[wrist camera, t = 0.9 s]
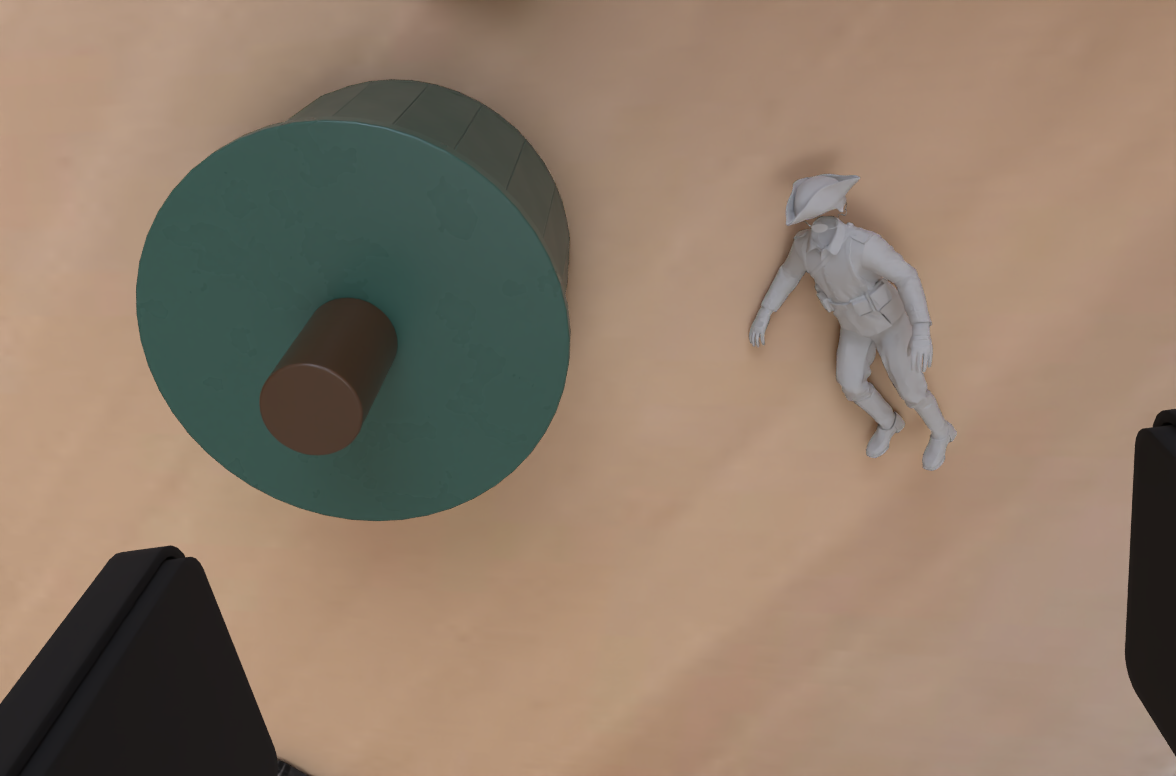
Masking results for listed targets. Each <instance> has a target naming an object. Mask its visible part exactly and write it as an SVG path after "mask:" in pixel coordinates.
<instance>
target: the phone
mask: <svg viewBox="0 0 1176 776" xmlns="http://www.w3.org/2000/svg"><path fill="white" fill-rule="evenodd" d="M277 762H278V774H277V776H307V775H305V774H304V773H302V772H300V771H299V770H297V769H295V768H293V767H292V766H290V765H288V764H286V763H284V762H282V761H278V760H277Z"/></svg>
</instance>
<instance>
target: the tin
mask: <svg viewBox="0 0 1176 776" xmlns="http://www.w3.org/2000/svg"><path fill="white" fill-rule="evenodd" d="M324 116H337V117H356V118H364V119H369V120H375V121H380V122H386V123H391V124H394V125H397V126H400V127H403V128H406V129H410V130H413V131H416V132H419V133H421V134H423V135H426V136H428V137H430V138H432V139H434V140H436V141H439V142H441V143H443V144H445V145H447V146H449V147H451V148H452V149H454V150H455V151H457V152H459V153H460V154H462V155H464V156H465V157H467V158H468V159H470V160H472V161H473V162H475V163H476V164H477V165H478V166H480V167H481V168H482V169H483V170H485V171H486V172H487V173H488V174H490V175H491V176H492V177H493V178H494V179H496V180H497V181H498V182H499V183H500V184H501V185H502V186H503V187H504V188H505V189H506V190H507V191H508V192H509V193H510V194H511V195H512V196H513V197H514V198H515V199H516V201H517V202H518V203H519V204H520V205H521V206H522V208H523V209H524V210H525V212H526V213H527V214H528V216H529V217H530V219H531V220H532V221H533V223H534V224H535V225H536V227H537V228H538V230H539V232H540V234H541V235H542V237H543V239H544V241H545V242H546V244H547V246H548V248H549V250H550V251H551V254H552V256H553V259H554V261H555V264H556V266H557V269H558V271H559V274H560V276H561V279H562V283H563V287H564V291H565V294H566V288H567V281H568V264H569V240H570V237H569V230H568V225H567V219H566V215H565V211H564V207H563V203H562V200H561V197H560V195H559V192H558V189H557V187H556V184H555V182H554V180H553V178H552V176H551V174H550V173H549V171H548V169H547V167H546V165H545V163H544V162H543V161H542V159H541V158H540V156H539V155H538V154H537V152H536V151H535V149H534V148H533V147H532V145H531V144H530V143H529V142H528V141H527V140H526V139H525V138H524V137H523V136H522V135H521V133H520V132H519V131H518V130H517V129H516V128H515V127H513V126H512V125H511V124H510V123H509V122H507V121H506V120H505V119H504V118H503V117H501V116H500V115H499V114H498V113H496V112H494V111H493V110H491V109H490V108H488V107H487V106H485V105H483V104H482V103H480V102H479V101H477V100H474V99H472V98H470V97H468V96H466V95H464V94H462V93H460V92H457V91H454V90H451V89H448V88H445V87H442V86H439V85H435V84H430V83H424V82H419V81H412V80H392V79H391V80H380V81H369V82H364V83H360V84H356V85H351V86H347V87H345V88H342V89H339V90H337V91H334V92H331V93H328V94H325V95H323V96H321V97H319V98H318V99H316V100H315V101H313V102H312V103H311V104H309V105H308V106H306V107H305V108H304V109H302V110H301V111H299V112H298V113H296V114H295V115H294V116H292V117H291V118H289V119H288V120H287V121H290V120H295V119H300V118H312V117H324ZM285 122H286V121H285Z"/></svg>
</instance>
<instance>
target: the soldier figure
mask: <svg viewBox="0 0 1176 776" xmlns="http://www.w3.org/2000/svg"><path fill="white" fill-rule="evenodd" d="M859 179H860V177H859V176H856V175H848V176H842V175H835V174H821V175H817V176H814V177H809V178H808V177H806V178H802V179H799V180H797V181H795V182H794V183H793V190H792V193H791V195H790V197H789V200H788V202H787V206H786V225H787V226H789V225H793V224H796V223H799V222H802V221H804V220H809V219H812V218H815V217H818V216H820V215H822V214H824V213H826V212H828V211H830V210H833V209H838V210H839V211H840V212H843V207H844V205H845V203H846V207H847V202H846V197H845V195H846V193H847V192H848V191H849V190H850V188H851V187H852V186H853V185H854V184H855V183H856V182H857V181H858V180H859ZM845 210H846V208H845ZM846 211H847V210H846ZM846 213H847V212H846ZM841 215H843V214H841ZM844 216H845V215H844ZM806 223H807V222H806ZM807 224H808V223H807ZM808 225H809V224H808ZM809 226H810V225H809ZM794 239H795V240H794V242H793V245H792V247H791V250H790V252H789V254H788V257H787V259H786V261H785V262H784V263H783V265H781V267H780V268H779V271H778V273H777V275H776V277H775V278H774V280H773V282H772V284H771V286H770V288H769V290H768V292H767V293H766V295H765V297H764V299H763V301H762V303H761V306H762V307H761V309H759V311H758V313H757V316H756V318H755V320H754V321H753V323H752V325H751V329H750V333H749V340H750V343H751V344H752V345H753V346H755V341H756V345H757V347H759V337H761V342H762V345H765V341H764V334H765V331H766V328H767V326H768V324H769V321H770V315H771V313H772V312H773V311H774V312H776V311H777V310H778V309H779V308H780V307H781V305H782V303H783V302H784V301H785V300H786V298H787V297H788V295H789V294H790V293H791V292H792V290H794V289H795V287H796V286H797V285H798V283H799V281H800V279H801V278H802V276H803V275H804V274H805V272H807V273H810V275H811V277H813V278H814V281H815V283H816V284H815V289H816V291H817V296H818V298H819V300H820V302H821V303H822V305H823V307H824V308H825V309H826V310H827V311H828V312H831V311H834V313H833V314H834V315H835V316H836V317H837V319H838V321H839V323H840V325H841V330H840V338H839V345H838V349H837V363H836V380H837V382H838V383H839V384H840V385H841V386H842V391H843V392H844V394H845V396H846V398H847V400H849V401H853V402H854V403H856V404H857V405H858V406H860V407H861V408H862V409H864V410H865V411H866V412H867V413H868V414H869V415H870V416H872V417H873V418H874V420H875V421H876V422H877V423H878V426H877V430H876V432H875V433H874V434H873V436H872V438H871V439H870V441H869V443H868V445H867V449H866V454H867V456H869V457H872V458H877V457H879V456H881V455H882V454H884V453H885V452H886V451H887V450H888V448H889V442H890V439H891V437H892V436H893V434H894V433H899V432H900V431H901V430H902V429H903V427H904V426H905V422H904V420H903V419H902V417H901V416H900V415H899V414H898V413H897V412H893V411H892V408H891V406H890V405H889V404H888V403H887V402H886V401H885V400H884V399H883V397H882V395H881V394H880V393H879V392H878V391H877V390H876V389H875V387H874V386H873V384H871V383H869V382H867V378H868V377H869V376H870V375H871V370H870V367H869V366H870V365H871V364H872V362H873V361H874V358H875V355H876V348H877V350H878V353H879V355H880V357H881V359H882V362H883V365H884V367H885V369H886V371H887V373H888V376H889V378H890V380H891V381H892V382H893V385H894V387H895V388H896V390H897V392H898V394H899V396H900V397H901V399H903V400H904V401H905V403H906V405H907V406H908V407H909V408H914V409H915V410H916V412H917V413H918V414H919V415H920V417H921V418H922V419H923V421H924V422H925V424H926V425H927V426H928V428H929V429H930V430H931V435H930V440H929V443H928V445H927V447H926V449H925V451H924V454H923V459H922V463H923V468H924V469H926V470H931V471H932V470H936V469H937V468H939V467H940V466H941V465H942V464H943V462H944V460H945V451H946V447H947V444H948V443H949V442H952V441H953V440H954V439H955V437H956V435H957V431H956V430H955V429H954V427H953V425H952V424H951V423H949V422H948V421H946V420H945V419H944V417H943V415H942V413H941V411H940V409H939V407H938V404H937V401H936V399H935V397H934V395H933V394H932V393H931V392H930V390H928V389H927V383H926V381H925V378H924V374H923V373H922V372H925V371H926V367H927V362H928V367H931V363H932V355H933V347H932V341H931V337H930V329H929V327H930V326H931V325H932V321H931V319H930V316H929V312H928V309H927V303H926V298H925V294H924V291H923V287H922V284H921V281H920V278H919V277H918V273H917V271H916V269H915V268H913V267H912V266H911V265H910V264H908V263H907V262H905V261H904V259H903V257H902V255H900V254H899V253H897V252H895V251H894V249H893V247H892V246H891V245H889V244H888V243H887V241H886V240H884V239H882V237H881V235H879V234H877V233H875V232H873V231H869V230H865V229H863V228H860V227H856V226H854V224H853V223H850V222H848V223H847V224H844V223H843V222H842V221H841V220H839V214H838V218H836V217H834V216H821V217H819V218H817V219H816V220H815V221H814V222H813V224H812V226H811V229H805V230H801V231H799V232H798V233H797V234H796V235H795V237H794ZM882 277H883V278H882ZM886 279H887V280H890V281H891V282H893V283H895V285H896V286H897V290H898V291H897V290H896V288H895V287H894V286H893V285H892V284H890V283H889V282H888V281H887V280H886ZM906 313H907V314H906ZM907 315H908V316H907ZM908 317H909V318H908ZM755 337H756V339H755ZM922 357H923V367H922V371H921V364H922Z"/></svg>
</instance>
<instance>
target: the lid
mask: <svg viewBox="0 0 1176 776" xmlns="http://www.w3.org/2000/svg"><path fill="white" fill-rule="evenodd" d="M136 307H137V320H138V326H139V332H140V339H141V343H142V346H143V349H144V353H145V356H146V360H147V363H148V366H149V368H150V371H151V373H152V375H153V377H154V380H155V382H156V384H157V386H158V389H159V391H160V392H161V394H162V396H163V397H164V399H165V401H166V402H167V404H168V406H169V407H170V409H171V411H172V412H173V414H174V415H175V416H176V418H177V419H178V420H179V422H180V423H181V424H182V425H183V427H184V428H185V429H186V431H187V432H188V433H189V435H190V436H191V437H192V438H193V439H194V440H195V441H196V442H197V443H198V444H199V445H200V446H201V447H202V448H203V449H204V450H205V451H206V452H207V453H208V454H209V455H210V456H211V457H213V458H214V459H215V460H216V461H217V462H219V463H220V464H221V465H222V466H223V467H225V468H226V469H227V470H228V471H230V472H231V473H233V474H234V475H236V476H237V477H239V478H240V479H242V480H243V481H245V482H246V483H248V484H249V485H251V486H252V487H254V488H256V489H258V490H260V491H262V492H264V493H266V494H268V495H270V496H271V497H273V498H275V499H278V500H280V501H283V502H285V503H288V504H290V505H293V506H296V507H298V508H301V509H305V510H308V511H312V512H315V513H319V514H322V515H327V516H333V517H339V518H345V519H351V520H367V521H388V520H404V519H409V518H415V517H421V516H427V515H431V514H434V513H437V512H441V511H444V510H447V509H451V508H453V507H456V506H458V505H460V504H462V503H465V502H467V501H469V500H472V499H474V498H476V497H477V496H479V495H481V494H482V493H484V492H486V491H487V490H489V489H491V488H492V487H494V486H495V485H497V484H498V483H499V482H501V481H502V480H503V479H504V478H506V477H507V476H508V475H509V474H511V473H512V472H513V471H514V470H515V469H516V468H517V467H518V466H519V465H520V464H521V463H522V462H523V461H524V460H525V459H526V458H527V457H528V456H529V455H530V453H531V452H532V451H533V449H534V448H535V447H536V445H537V444H538V442H539V441H540V440H541V438H542V437H543V435H544V434H545V432H546V430H547V428H548V427H549V425H550V423H551V421H552V419H553V417H554V415H555V413H556V411H557V408H558V405H559V402H560V399H561V396H562V393H563V390H564V387H565V381H566V376H567V371H568V365H569V358H570V336H571V329H570V320H569V310H568V303H567V299H566V295H565V291H564V287H563V283H562V279H561V276H560V274H559V271H558V269H557V266H556V264H555V261H554V259H553V256H552V254H551V251H550V250H549V248H548V246H547V244H546V242H545V241H544V239H543V237H542V235H541V234H540V232H539V230H538V228H537V227H536V225H535V224H534V223H533V221H532V220H531V219H530V217H529V216H528V214H527V213H526V212H525V210H524V209H523V208H522V206H521V205H520V204H519V203H518V202H517V201H516V199H515V198H514V197H513V196H512V195H511V194H510V193H509V192H508V191H507V190H506V189H505V188H504V187H503V186H502V185H501V184H500V183H499V182H498V181H497V180H496V179H494V178H493V177H492V176H491V175H490V174H488V173H487V172H486V171H485V170H483V169H482V168H481V167H480V166H478V165H477V164H476V163H475V162H473V161H472V160H470V159H468V158H467V157H465V156H464V155H462V154H460V153H459V152H457V151H455V150H454V149H452V148H451V147H449V146H447V145H445V144H443V143H441V142H439V141H436V140H434V139H432V138H430V137H428V136H426V135H423V134H421V133H419V132H416V131H413V130H410V129H406V128H403V127H400V126H397V125H394V124H391V123H386V122H380V121H375V120H369V119H364V118H356V117H337V116H324V117H312V118H300V119H295V120H290V121H286V122H281V123H277V124H272V125H269V126H266V127H264V128H261V129H258V130H256V131H253V132H250V133H248V134H245V135H243V136H241V137H239V138H237V139H236V140H234V141H232V142H230V143H229V144H227V145H225V146H223V147H221V148H220V149H218V150H217V151H215V152H214V153H212V154H211V155H210V156H209V157H207V158H206V159H205V160H203V161H202V162H201V163H200V164H198V165H197V166H196V167H195V168H193V169H192V170H191V171H190V172H189V173H188V174H187V175H186V176H185V177H184V178H183V179H182V181H181V182H180V183H179V184H178V185H177V186H176V187H175V188H174V189H173V190H172V192H171V193H170V195H169V196H168V198H167V199H166V201H165V202H164V204H163V205H162V207H161V208H160V210H159V211H158V213H157V215H156V217H155V219H154V222H153V224H152V226H151V228H150V230H149V232H148V234H147V237H146V240H145V244H144V247H143V251H142V254H141V258H140V261H139V269H138V277H137V285H136Z"/></svg>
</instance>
